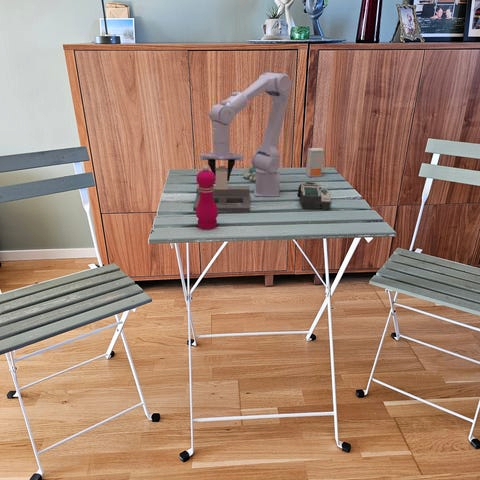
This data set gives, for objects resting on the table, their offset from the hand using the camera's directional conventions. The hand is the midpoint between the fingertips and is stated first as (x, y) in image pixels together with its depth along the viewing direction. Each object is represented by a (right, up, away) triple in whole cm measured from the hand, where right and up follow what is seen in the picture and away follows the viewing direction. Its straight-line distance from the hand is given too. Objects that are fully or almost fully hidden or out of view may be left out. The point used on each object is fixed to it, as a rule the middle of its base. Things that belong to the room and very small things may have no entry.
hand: (221, 180), depth 143 cm
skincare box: (+39, +7, +37) cm, 55 cm away
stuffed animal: (+13, +5, +33) cm, 36 cm away
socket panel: (0, -8, +6) cm, 10 cm away
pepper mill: (-4, -17, -12) cm, 21 cm away
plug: (0, -2, +1) cm, 3 cm away
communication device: (+34, -6, +12) cm, 37 cm away
